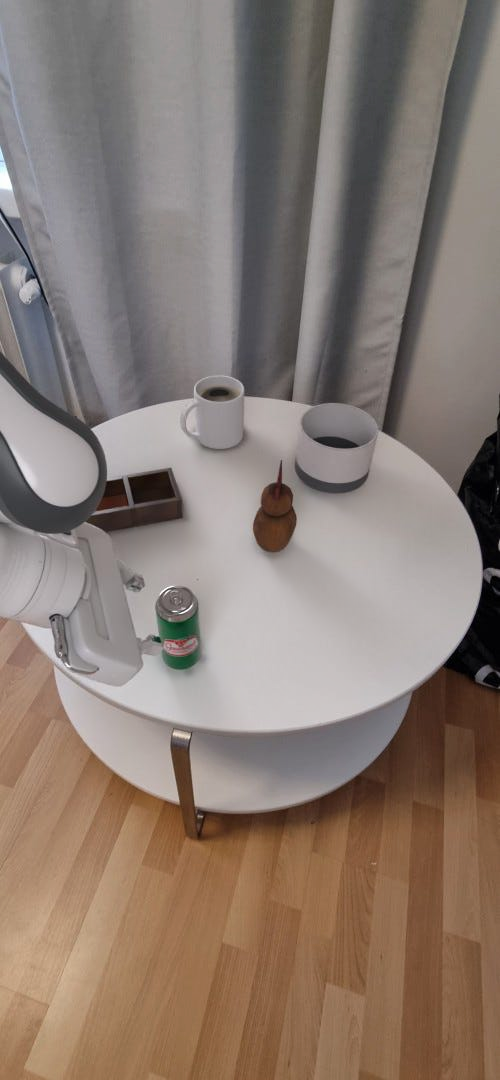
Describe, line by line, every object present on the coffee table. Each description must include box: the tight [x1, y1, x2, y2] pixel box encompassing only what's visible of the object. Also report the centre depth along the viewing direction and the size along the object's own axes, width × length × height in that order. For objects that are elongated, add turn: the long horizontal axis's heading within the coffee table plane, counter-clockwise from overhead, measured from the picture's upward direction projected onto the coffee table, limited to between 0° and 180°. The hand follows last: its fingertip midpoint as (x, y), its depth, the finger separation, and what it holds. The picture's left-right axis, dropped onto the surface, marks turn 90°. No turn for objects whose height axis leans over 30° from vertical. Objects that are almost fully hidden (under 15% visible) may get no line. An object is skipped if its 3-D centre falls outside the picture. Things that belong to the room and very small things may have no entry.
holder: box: [85, 467, 184, 533], centre depth 94 cm, size 15×8×4 cm, turn 107°
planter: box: [294, 402, 380, 494], centre depth 99 cm, size 13×13×10 cm
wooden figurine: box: [252, 459, 298, 553], centre depth 86 cm, size 7×6×15 cm
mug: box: [179, 374, 245, 450], centre depth 106 cm, size 11×10×10 cm
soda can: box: [154, 585, 202, 671], centre depth 73 cm, size 5×5×12 cm
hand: (149, 614), depth 69 cm, fingers open, 8 cm apart
